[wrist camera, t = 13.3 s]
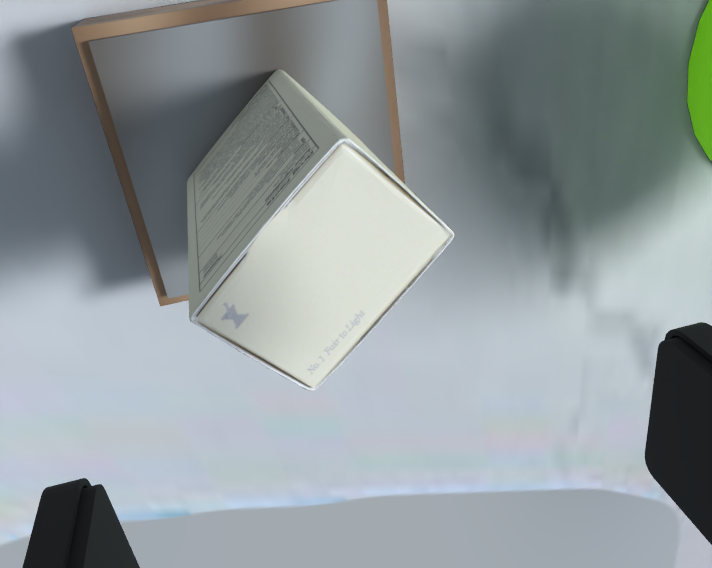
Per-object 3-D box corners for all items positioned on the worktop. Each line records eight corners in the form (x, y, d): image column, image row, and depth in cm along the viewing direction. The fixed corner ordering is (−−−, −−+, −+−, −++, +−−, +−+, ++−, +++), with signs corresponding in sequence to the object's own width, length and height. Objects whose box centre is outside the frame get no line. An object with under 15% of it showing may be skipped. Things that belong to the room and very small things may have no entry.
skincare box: (264, 238, 29) (311, 404, 18) (180, 178, 27) (179, 326, 16) (357, 128, 28) (466, 239, 17) (277, 57, 26) (343, 133, 15)
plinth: (362, -26, 29) (387, -22, 25) (390, 222, 35) (413, 253, 31) (83, 18, 27) (69, 29, 24) (162, 272, 33) (160, 310, 29)
